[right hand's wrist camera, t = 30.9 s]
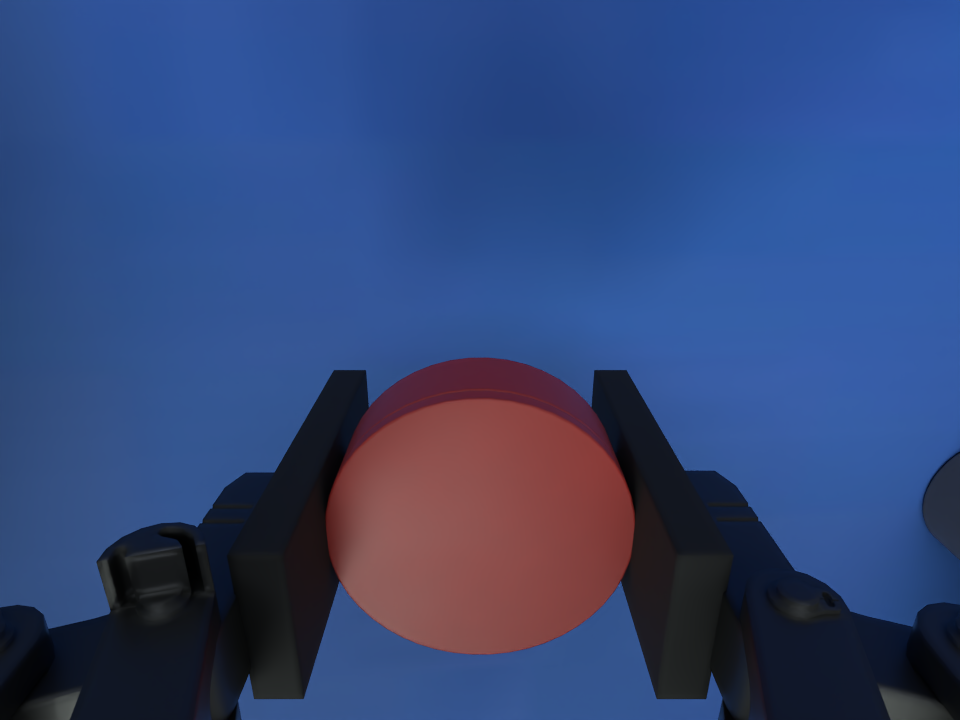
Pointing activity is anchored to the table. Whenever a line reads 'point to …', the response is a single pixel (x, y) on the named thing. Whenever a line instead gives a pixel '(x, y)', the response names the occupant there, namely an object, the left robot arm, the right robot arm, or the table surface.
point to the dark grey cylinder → (945, 506)
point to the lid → (480, 509)
